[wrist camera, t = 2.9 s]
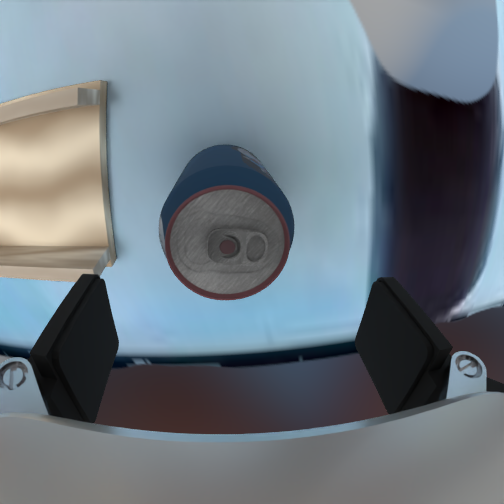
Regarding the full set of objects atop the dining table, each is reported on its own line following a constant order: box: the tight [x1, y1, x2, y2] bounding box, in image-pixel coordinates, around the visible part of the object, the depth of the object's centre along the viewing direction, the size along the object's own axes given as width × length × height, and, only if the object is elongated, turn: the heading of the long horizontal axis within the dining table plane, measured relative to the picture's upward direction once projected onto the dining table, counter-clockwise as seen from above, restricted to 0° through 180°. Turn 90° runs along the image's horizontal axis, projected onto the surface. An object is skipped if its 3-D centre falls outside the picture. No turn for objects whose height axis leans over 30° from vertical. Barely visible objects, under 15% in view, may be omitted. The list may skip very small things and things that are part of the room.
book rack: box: [0, 80, 116, 282], centre depth 19 cm, size 16×20×6 cm
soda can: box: [159, 145, 294, 300], centre depth 19 cm, size 7×7×12 cm
